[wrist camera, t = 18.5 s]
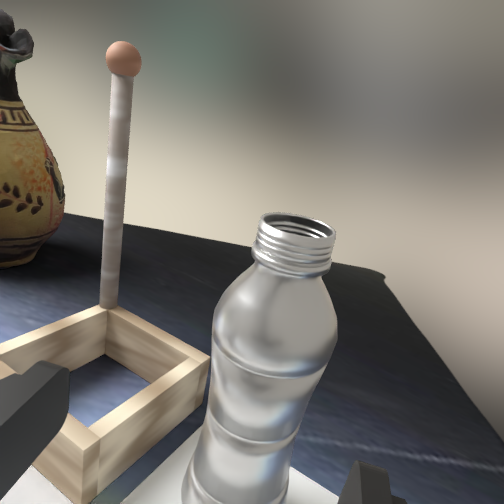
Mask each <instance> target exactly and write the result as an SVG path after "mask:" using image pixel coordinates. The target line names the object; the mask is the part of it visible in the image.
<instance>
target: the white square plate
mask: <svg viewBox="0 0 504 504" xmlns="http://www.w3.org/2000/svg"><path fill="white" fill-rule="evenodd" d="M202 426H203V425H202ZM202 426H201V427H199V428H198V429H197V430H196V431H195V432H194V433H193V434H192V435H191V436H190V437H189V438H188V439H187V440H186V441H185V442H184V443H183V444H182V445H181V446H180V447H178V448H177V449H176V450H175V451H174V452H173V453H172V454H171V455H170V456H169V457H168V458H167V459H166V460H165V461H164V462H163V463H162V464H161V465H160V466H159V467H157V468H156V469H155V470H154V471H153V472H152V473H151V474H150V475H149V476H148V477H147V478H146V479H145V480H144V481H143V482H142V483H141V484H140V485H139V486H137V487H136V488H135V489H134V490H133V491H132V492H131V493H130V494H129V495H128V496H127V497H126V498H125V499H124V500H123V501H122V502H121V503H120V504H182V502H181V487H182V482H183V478H184V475H185V472H186V469H187V467H188V464H189V461H190V459H191V457H192V455H193V453H194V451H195V449H196V446H197V443H198V440H199V436H200V433H201V430H202ZM338 500H339V497H338V496H336V495H335V494H333V493H331V492H330V491H328V490H327V489H325V488H324V487H322V486H320V485H319V484H317V483H316V482H314V481H312V480H311V479H309V478H308V477H306V476H305V475H303V474H301V473H300V472H298V471H297V470H295V469H294V468H292V467H290V468H289V486H288V494H287V501H286V504H337V503H338Z"/></svg>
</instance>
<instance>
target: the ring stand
mask: <svg viewBox="0 0 504 504" xmlns="http://www.w3.org/2000/svg"><path fill="white" fill-rule="evenodd" d="M106 63H107V66H108V68H109V70H110V71H111V72H112V82H111V83H112V84H111V101H110V121H109V138H108V156H107V175H106V193H105V213H104V230H103V248H102V267H101V285H100V303H99V305H97V306H94V307H92V308H89V309H87V310H84V311H82V312H79V313H77V314H74V315H72V316H69V317H67V318H64V319H61V320H59V321H56V322H54V323H51V324H49V325H46V326H44V327H41V328H39V329H36V330H34V331H31V332H29V333H26V334H24V335H21V336H19V337H16V338H14V339H11V340H9V341H6V342H4V343H1V344H0V379H3V378H5V377H7V376H9V375H11V374H14V373H17V374H20V375H22V374H23V373H24V372H26V371H27V370H28V369H29V368H30V367H32V366H33V365H34V364H35V363H37V362H38V361H41V360H44V361H47V362H50V363H53V364H57V365H60V366H63V367H66V368H68V369H69V371H70V372H71V371H73V370H75V369H77V368H79V367H81V366H83V365H84V364H86V363H88V362H90V361H92V360H94V359H96V358H98V357H100V356H101V355H103V354H106V355H108V356H109V357H111V358H112V359H114V360H115V361H117V362H118V363H120V364H122V365H123V366H125V367H126V368H128V369H129V370H131V371H132V372H134V373H135V374H137V375H139V376H140V377H142V378H143V379H145V380H146V381H148V382H149V383H151V384H150V385H149V386H147V387H146V388H145V389H143V390H142V391H140V392H139V393H137V394H136V395H134V396H133V397H131V398H130V399H129V400H127V401H126V402H124V403H123V404H121V405H120V406H118V407H117V408H116V409H114V410H113V411H111V412H110V413H108V414H107V415H105V416H104V417H102V418H101V419H100V420H98V421H97V422H95V423H94V424H92V425H91V426H89V427H88V428H87V427H86V426H84V425H83V424H82V423H81V422H79V421H78V420H77V419H75V418H74V417H73V416H72V415H70V414H69V413H68V414H67V417H66V420H65V422H64V424H63V426H62V428H61V430H60V431H59V432H58V434H57V435H56V436H55V437H54V438H53V440H52V441H51V442H50V443H49V444H48V445H47V447H46V448H45V449H44V450H43V451H42V452H41V454H40V455H39V456H38V457H37V458H36V459H35V461H34V462H33V463H32V465H33V466H34V467H35V468H36V469H37V470H38V471H39V472H40V473H41V474H43V475H44V476H45V477H46V478H47V479H48V480H49V481H50V482H51V483H52V484H53V485H54V486H56V487H57V488H58V489H59V490H60V491H61V492H62V493H63V494H64V495H65V496H66V497H67V498H69V499H70V500H71V501H72V502H73V503H74V504H88V503H89V502H91V501H92V500H93V499H94V498H95V497H96V496H97V495H99V494H100V493H101V492H102V491H103V490H104V489H105V488H106V487H108V486H109V485H110V484H111V483H112V482H113V481H114V480H116V479H117V478H118V477H119V476H120V475H121V474H122V473H124V472H125V471H126V470H127V469H128V468H129V467H130V466H132V465H133V464H134V463H135V462H136V461H137V460H138V459H140V458H141V457H142V456H143V455H144V454H145V453H146V452H148V451H149V450H150V449H151V448H152V447H153V446H154V445H155V444H157V443H158V442H159V441H160V440H161V439H162V438H163V437H165V436H166V435H167V434H168V433H169V432H170V431H171V430H173V429H174V428H175V427H176V426H177V425H178V424H179V423H181V422H182V421H183V420H184V419H185V418H186V417H187V416H189V415H190V414H191V413H192V412H193V411H194V410H195V409H196V408H198V407H199V406H200V405H201V404H202V402H203V396H204V390H205V385H206V379H207V373H208V368H209V362H210V356H208V355H206V354H204V353H202V352H201V351H199V350H197V349H195V348H193V347H192V346H190V345H188V344H186V343H184V342H183V341H181V340H179V339H177V338H175V337H174V336H172V335H170V334H168V333H166V332H165V331H163V330H161V329H159V328H157V327H156V326H154V325H152V324H150V323H148V322H147V321H145V320H143V319H141V318H139V317H138V316H136V315H134V314H132V313H130V312H129V311H127V310H125V309H123V308H121V307H120V306H118V305H117V300H118V287H119V273H120V259H121V245H122V231H123V218H124V204H125V190H126V175H127V162H128V149H129V148H128V147H129V135H130V121H131V107H132V93H133V80H134V76H136V75H137V74H138V73H139V71H140V69H141V57H140V54H139V52H138V50H137V49H136V48H135V47H134V46H133V45H131V44H130V43H128V42H123V41H119V42H115V43H113V44H112V45H111V46H110V47H109V48H108V50H107V53H106Z"/></svg>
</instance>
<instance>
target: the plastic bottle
mask: <svg viewBox="0 0 504 504" xmlns="http://www.w3.org/2000/svg"><path fill="white" fill-rule="evenodd" d="M335 239H336V231H335V230H334V229H333V228H332V227H331V226H329V225H327V224H326V223H324V222H321V221H319V220H316V219H313V218H310V217H306V216H302V215H297V214H291V213H281V212H273V213H266V214H264V215H262V216H261V220H260V221H259V225H258V231H257V236H256V240H255V241H254V243H253V246H252V251H251V255H252V257H253V258H254V259H255V260H256V261H255V263H254V264H253V265H252V266H251V267H250V268H248V269H247V270H246V271H245V272H244V273H242V274H241V275H240V276H239V277H238V278H237V279H236V280H235V281H234V282H233V283H232V284H231V285H230V286H229V287H228V288H227V289H226V290H225V292H224V293H223V295H222V296H221V298H220V300H219V302H218V304H217V306H216V308H215V310H214V315H213V325H212V355H211V381H210V389H209V396H208V404H207V412H206V416H205V420H204V423H203V426H202V430H201V433H200V436H199V440H198V443H197V446H196V449H195V451H194V453H193V455H192V457H191V459H190V461H189V464H188V467H187V469H186V472H185V475H184V478H183V482H182V487H181V502H182V504H286V501H287V494H288V486H289V468H290V463H291V458H292V453H293V447H294V442H295V437H296V434H297V432H298V429H299V426H300V423H301V420H302V418H303V415H304V413H305V410H306V407H307V405H308V402H309V399H310V397H311V395H312V393H313V391H314V389H315V387H316V385H317V383H318V381H319V379H320V377H321V375H322V373H323V371H324V369H325V367H326V365H327V363H328V361H329V360H330V357H331V355H332V352H333V349H334V347H335V345H336V342H337V316H336V313H335V310H334V307H333V304H332V301H331V299H330V296H329V294H328V292H327V289H326V287H325V285H324V283H323V281H322V279H321V276H322V275H324V274H326V273H327V272H328V271H329V269H330V266H331V260H332V259H331V253H332V250H333V246H334V242H335Z"/></svg>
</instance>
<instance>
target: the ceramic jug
mask: <svg viewBox="0 0 504 504" xmlns="http://www.w3.org/2000/svg"><path fill="white" fill-rule="evenodd" d="M33 47H34V42H33V40H32V37H31V36H30V34H29V32H28V31H27V30H26V29H19V30H18V31H16V32H15V28H14V22H13V19H12V17H11V16H9V15H8V14H7V13H5V12H4V11H3V10H2V9H0V269H6V268H9V267H11V266H18V265H22V264H26V263H28V262H29V261H31V260H32V259H33V258H34V257H35V254H36V252H37V251H38V249H39V248H40V247H41V245H42V244H43V243H44V242H45V241H46V240H47V239H48V238H50V237H51V236H52V235H53V234H54V232H55V231H56V230H57V229H58V227H59V224H60V222H61V219H62V217H63V213H64V204H65V193H64V185H63V181H62V178H61V173H60V171H59V168H58V163H57V162H56V159H55V157H54V156H53V153H52V151H51V149H50V148H49V147H48V145H47V143H46V140H45V139H44V137H43V135H42V133H41V132H40V130H39V128H38V126H37V125H36V124H35V122H34V120H33V119H32V118H31V116H30V115H29V113H28V111H27V110H26V109H25V106H24V105H23V101H22V100H21V99H20V97H19V95H18V89H17V82H16V77H15V67H16V63H19V62H22V61H25V60H27V59H29V58H31V57H32V53H33Z"/></svg>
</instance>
